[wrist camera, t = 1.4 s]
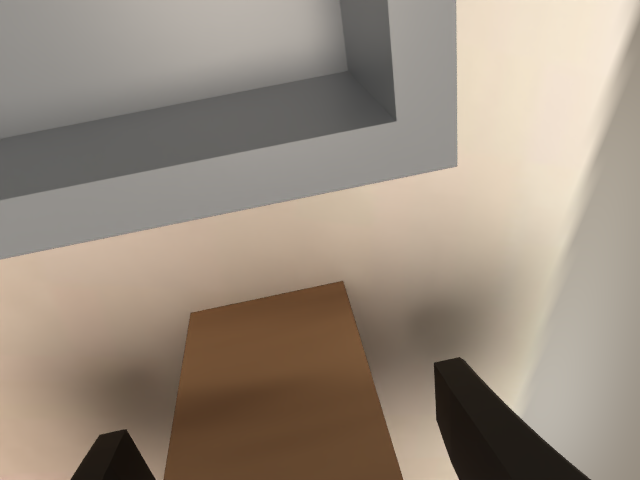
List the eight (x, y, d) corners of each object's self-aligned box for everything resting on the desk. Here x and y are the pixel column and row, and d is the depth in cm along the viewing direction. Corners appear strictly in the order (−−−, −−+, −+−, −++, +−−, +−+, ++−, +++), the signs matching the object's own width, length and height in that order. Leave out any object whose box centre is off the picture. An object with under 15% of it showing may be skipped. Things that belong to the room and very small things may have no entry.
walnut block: (360, 385, 14) (423, 621, 9) (230, 413, 14) (220, 669, 9) (342, 280, 12) (411, 507, 7) (190, 312, 12) (149, 567, 7)
